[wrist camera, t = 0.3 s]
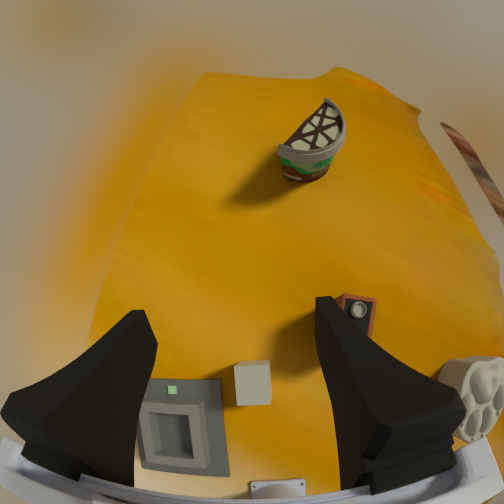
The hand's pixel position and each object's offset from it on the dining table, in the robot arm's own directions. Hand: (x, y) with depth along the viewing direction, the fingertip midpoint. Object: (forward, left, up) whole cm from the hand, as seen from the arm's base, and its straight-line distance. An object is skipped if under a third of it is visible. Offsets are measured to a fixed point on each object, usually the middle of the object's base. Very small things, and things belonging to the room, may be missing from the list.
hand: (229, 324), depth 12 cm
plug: (-7, +2, -29) cm, 30 cm away
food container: (+24, -10, -29) cm, 39 cm away
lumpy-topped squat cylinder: (-16, -30, -29) cm, 45 cm away
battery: (-1, -10, -29) cm, 31 cm away
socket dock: (-15, +14, -29) cm, 35 cm away
